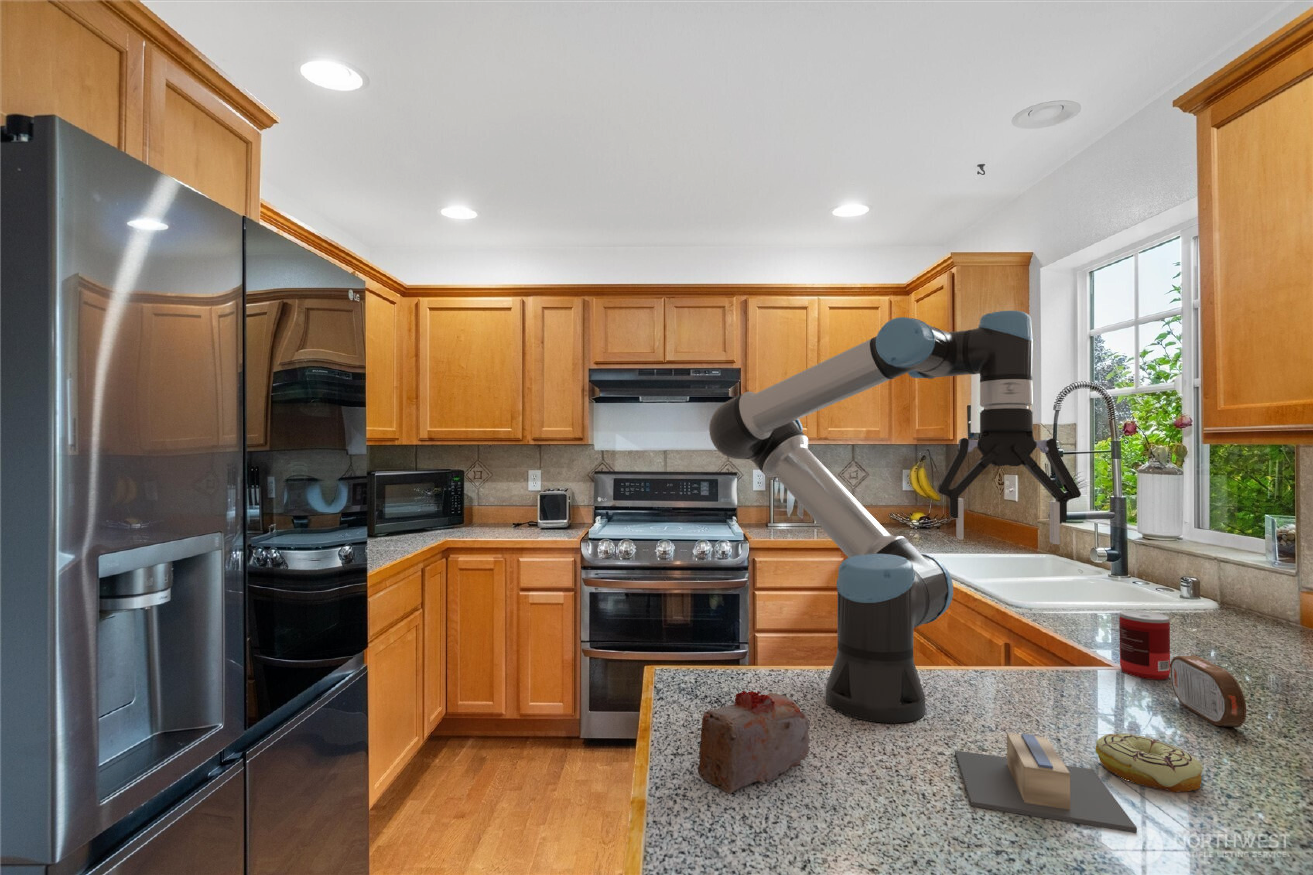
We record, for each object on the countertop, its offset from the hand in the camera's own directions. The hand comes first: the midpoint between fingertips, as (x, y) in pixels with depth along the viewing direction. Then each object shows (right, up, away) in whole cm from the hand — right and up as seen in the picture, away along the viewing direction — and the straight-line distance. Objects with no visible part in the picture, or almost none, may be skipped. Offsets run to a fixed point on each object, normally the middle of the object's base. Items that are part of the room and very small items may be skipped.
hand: (1006, 541), depth 105 cm
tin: (+30, -27, -2) cm, 41 cm away
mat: (-10, -26, -26) cm, 38 cm away
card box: (-10, -25, -26) cm, 38 cm away
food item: (-44, -26, -23) cm, 56 cm away
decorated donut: (+6, -27, -22) cm, 35 cm away
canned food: (+36, -28, +19) cm, 50 cm away
